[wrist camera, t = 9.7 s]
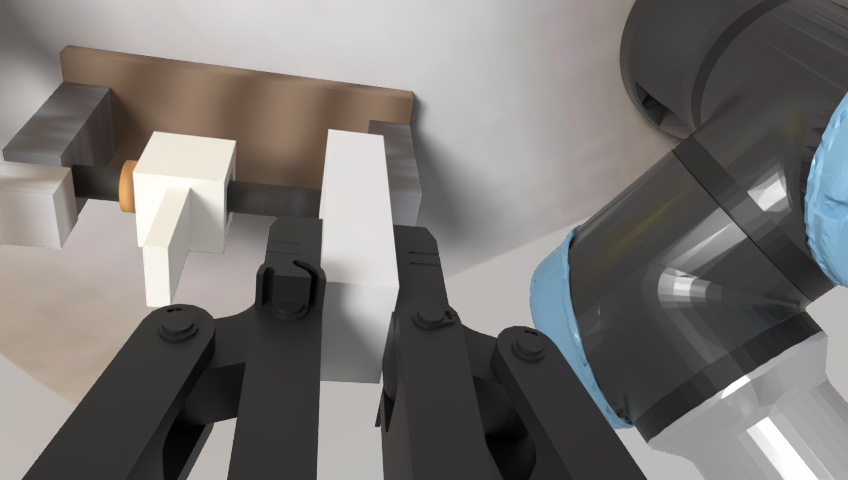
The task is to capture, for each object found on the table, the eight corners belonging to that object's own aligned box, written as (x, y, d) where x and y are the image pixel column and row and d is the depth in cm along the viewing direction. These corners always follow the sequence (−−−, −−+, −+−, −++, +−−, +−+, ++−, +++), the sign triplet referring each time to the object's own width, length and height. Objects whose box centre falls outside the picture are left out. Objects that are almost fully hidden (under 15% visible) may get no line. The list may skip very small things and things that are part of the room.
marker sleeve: (236, 140, 43) (206, 241, 34) (234, 208, 46) (207, 318, 36) (154, 131, 42) (101, 232, 33) (157, 201, 45) (110, 311, 36)
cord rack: (412, 91, 50) (433, 191, 38) (393, 193, 55) (407, 310, 43) (59, 44, 45) (-41, 141, 33) (74, 160, 50) (-8, 280, 38)
